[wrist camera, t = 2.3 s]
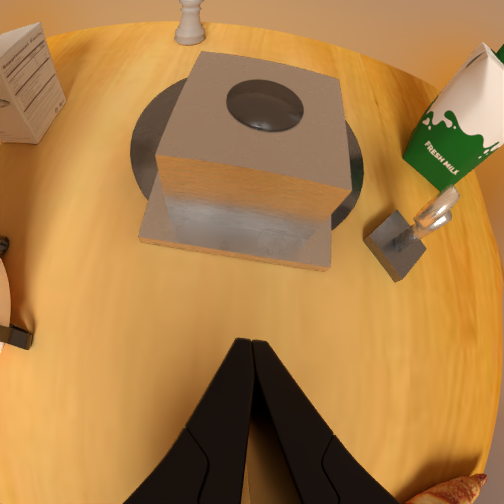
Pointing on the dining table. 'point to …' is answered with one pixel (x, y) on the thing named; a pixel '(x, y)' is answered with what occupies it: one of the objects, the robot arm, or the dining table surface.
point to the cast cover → (251, 164)
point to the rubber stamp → (409, 234)
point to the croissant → (452, 491)
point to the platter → (154, 127)
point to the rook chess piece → (190, 24)
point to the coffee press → (3, 330)
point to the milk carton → (461, 121)
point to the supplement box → (27, 86)
